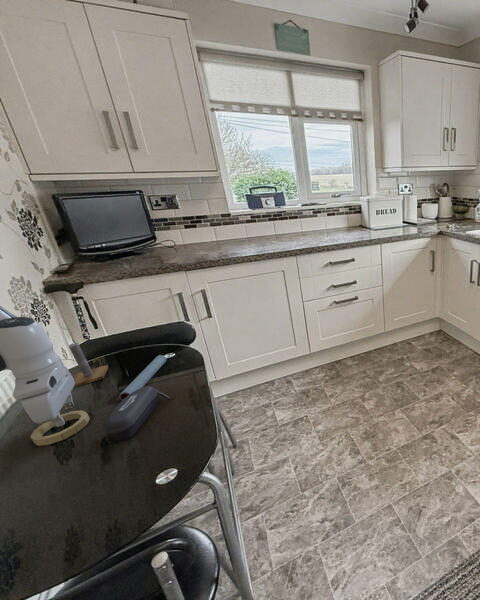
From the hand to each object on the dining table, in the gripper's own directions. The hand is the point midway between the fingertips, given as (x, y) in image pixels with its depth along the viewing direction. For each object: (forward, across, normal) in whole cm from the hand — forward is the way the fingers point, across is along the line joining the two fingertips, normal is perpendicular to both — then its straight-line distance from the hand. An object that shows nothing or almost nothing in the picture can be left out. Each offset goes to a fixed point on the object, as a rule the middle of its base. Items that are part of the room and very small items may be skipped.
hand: (66, 416), depth 92 cm
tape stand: (+2, -26, 0) cm, 26 cm away
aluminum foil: (+2, -11, +16) cm, 20 cm away
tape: (+2, +5, 0) cm, 5 cm away
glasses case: (+2, +14, +18) cm, 23 cm away
